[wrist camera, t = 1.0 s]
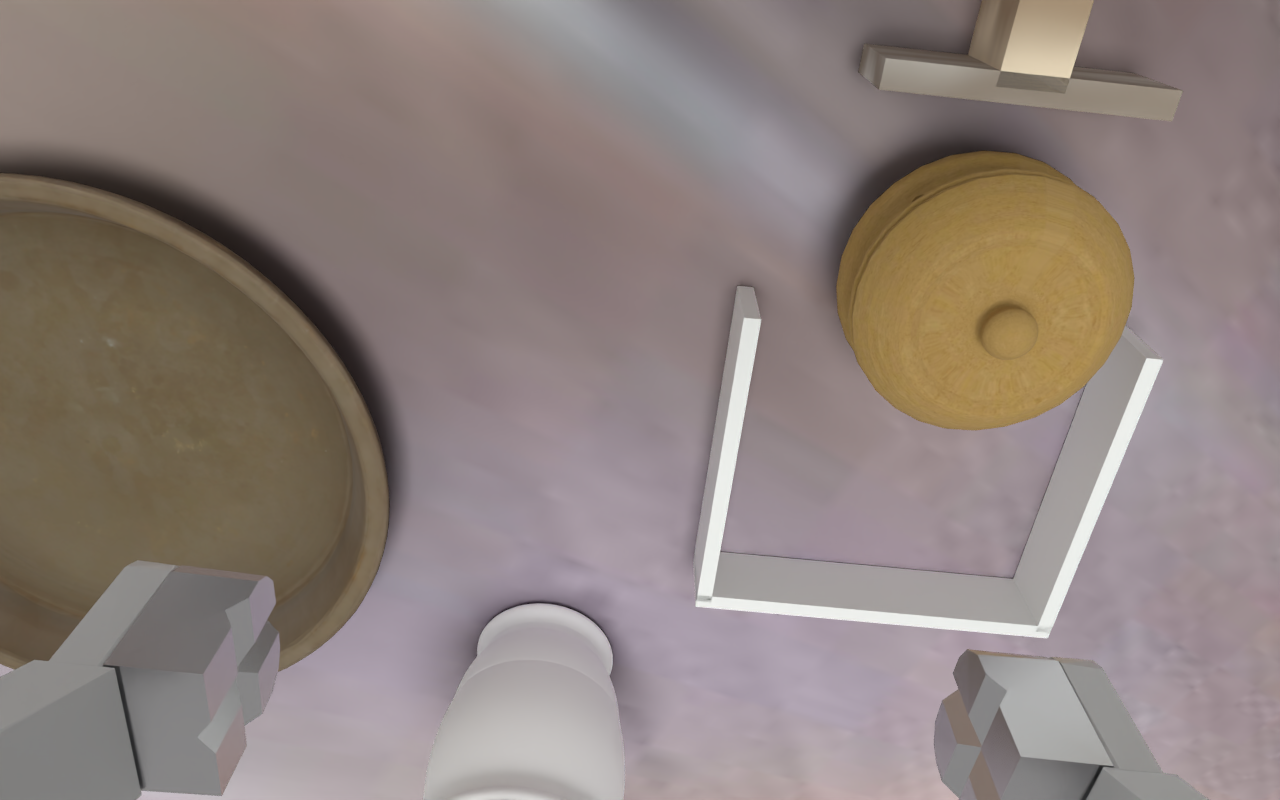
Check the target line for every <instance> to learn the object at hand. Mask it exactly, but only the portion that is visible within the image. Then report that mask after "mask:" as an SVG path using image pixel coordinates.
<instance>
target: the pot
mask: <svg viewBox="0 0 1280 800" xmlns="http://www.w3.org/2000/svg"><path fill="white" fill-rule="evenodd" d="M1133 287H1134V272H1133V266H1132V260H1131V253H1130V249H1129V247H1128V245H1127V242H1126V240H1125V238H1124V236H1123V234H1122V231H1121V229H1120V227H1119V225H1118V223H1117V222H1116V221H1115V220H1114V219H1113V218H1112V216H1111V215H1110V214H1109V213H1108V212H1107V211H1106V209H1105V208H1104V207H1103V206H1102V205H1101V204H1100V202H1098V201H1097V200H1096V199H1095V198H1094V197H1093V196H1092V195H1090V194H1089V193H1087V192H1086V191H1084V190H1082V189H1081V188H1079V187H1078V186H1076V185H1075V184H1074V183H1073V182H1072V181H1071V180H1070V179H1069V178H1068V177H1066V176H1065V175H1063V174H1061V173H1060V172H1058V171H1057V170H1055V169H1054V168H1052V167H1051V166H1049V165H1047V164H1046V163H1044V162H1042V161H1038V160H1035V159H1032V158H1029V157H1026V156H1023V155H1020V154H1017V153H1008V152H995V151H977V152H970V153H963V154H956V155H950V156H947V157H945V158H942V159H939V160H937V161H934V162H931V163H929V164H926V165H923V166H921V167H919V168H918V169H916V170H914V171H913V172H911V173H910V174H908V175H906V176H905V177H903V178H902V179H900V180H898V181H897V182H895V183H894V184H893V185H891V186H890V187H889V188H888V189H887V190H886V191H885V192H884V193H883V194H882V195H881V196H880V197H879V198H877V199H876V200H875V201H874V202H873V203H872V204H871V205H870V206H869V208H868V209H867V211H866V212H865V213H864V215H863V216H862V218H861V219H860V220H859V222H858V223H857V225H856V226H855V227H854V229H853V231H852V233H851V235H850V238H849V240H848V243H847V245H846V247H845V250H844V252H843V254H842V257H841V262H840V268H839V274H838V279H837V285H836V290H837V309H838V315H839V318H840V321H841V325H842V328H843V331H844V334H845V337H846V340H847V341H848V343H849V344H850V346H851V347H852V349H853V350H854V353H855V356H856V359H857V362H858V364H859V365H860V367H861V368H862V370H863V371H864V373H865V374H866V376H867V378H868V379H869V381H870V382H871V384H872V385H873V387H874V388H875V390H876V391H877V392H878V393H879V394H880V395H881V396H883V397H884V398H885V399H886V400H887V401H888V402H889V403H890V404H891V405H892V406H894V407H895V408H896V409H898V410H900V411H902V412H903V413H905V414H907V415H909V416H911V417H913V418H914V419H916V420H918V421H921V422H925V423H928V424H931V425H935V426H938V427H942V428H947V429H962V430H982V429H990V428H998V427H1005V426H1008V425H1012V424H1015V423H1018V422H1021V421H1025V420H1028V419H1031V418H1034V417H1037V416H1038V415H1040V414H1042V413H1044V412H1046V411H1048V410H1050V409H1052V408H1054V407H1056V406H1058V405H1060V404H1061V403H1063V402H1064V401H1065V400H1067V399H1068V398H1069V397H1071V396H1072V395H1073V394H1075V393H1076V392H1077V391H1078V390H1080V389H1081V388H1082V387H1084V386H1085V385H1086V383H1087V382H1088V381H1089V380H1090V379H1091V378H1092V377H1093V376H1094V375H1095V374H1096V372H1097V371H1098V370H1099V369H1100V368H1101V367H1102V366H1103V365H1104V364H1105V362H1106V361H1107V359H1108V357H1109V356H1110V354H1111V352H1112V351H1113V349H1114V348H1115V346H1116V344H1117V343H1118V341H1119V339H1120V338H1121V336H1122V333H1123V330H1124V327H1125V324H1126V321H1127V319H1128V316H1129V313H1130V310H1131V307H1132V297H1133Z"/></svg>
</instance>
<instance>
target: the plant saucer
mask: <svg viewBox="0 0 1280 800" xmlns="http://www.w3.org/2000/svg"><path fill="white" fill-rule="evenodd" d="M389 509H390V504H389V486H388V477H387V471H386V465H385V459H384V455H383V451H382V447H381V443H380V439H379V436H378V433H377V430H376V427H375V424H374V422H373V419H372V416H371V414H370V412H369V409H368V407H367V405H366V403H365V400H364V398H363V396H362V394H361V393H360V391H359V389H358V387H357V385H356V383H355V381H354V380H353V378H352V376H351V374H350V373H349V371H348V370H347V368H346V366H345V365H344V363H343V362H342V360H341V359H340V357H339V356H338V354H337V353H336V352H335V350H334V349H333V347H332V346H331V345H330V344H329V342H328V341H327V340H326V338H325V337H324V336H323V335H322V333H321V332H320V331H319V330H318V328H317V327H316V326H315V325H314V324H313V323H312V321H311V320H310V319H309V318H308V317H307V316H306V315H305V314H304V313H303V312H302V311H301V309H300V308H299V307H298V306H297V305H296V304H295V303H294V302H293V301H292V300H291V299H290V298H289V297H288V296H287V295H286V294H285V293H283V292H282V291H281V290H280V289H279V288H278V287H277V286H276V285H275V284H273V283H272V282H271V281H270V280H269V279H268V278H266V277H265V276H264V275H263V274H262V273H260V272H259V271H258V270H257V269H255V268H254V267H253V266H252V265H250V264H249V263H248V262H247V261H245V260H244V259H243V258H241V257H240V256H238V255H237V254H235V253H234V252H233V251H231V250H230V249H228V248H227V247H225V246H224V245H222V244H221V243H219V242H217V241H216V240H214V239H213V238H211V237H210V236H208V235H206V234H204V233H203V232H201V231H199V230H197V229H196V228H194V227H192V226H190V225H189V224H187V223H185V222H183V221H181V220H179V219H177V218H174V217H172V216H170V215H168V214H166V213H164V212H162V211H159V210H157V209H155V208H153V207H150V206H148V205H146V204H143V203H141V202H138V201H135V200H132V199H130V198H127V197H124V196H121V195H118V194H115V193H112V192H109V191H105V190H102V189H99V188H95V187H91V186H88V185H84V184H80V183H75V182H71V181H66V180H60V179H55V178H49V177H43V176H35V175H25V174H14V173H0V664H2V665H4V666H7V667H9V668H12V669H17V668H19V667H21V666H23V665H25V664H27V663H29V662H31V661H33V660H41V661H49V660H50V659H51V657H52V656H53V655H54V654H55V652H56V651H57V650H58V649H59V647H60V646H61V645H62V644H63V642H64V641H65V640H66V639H67V638H68V636H69V635H70V634H71V633H72V631H73V630H74V629H75V628H76V626H77V625H78V624H79V623H80V622H81V620H82V619H83V618H84V617H85V615H86V614H87V613H88V612H89V610H90V609H91V608H92V607H93V605H94V604H95V603H96V602H97V601H98V599H99V598H100V597H101V596H102V594H103V593H104V592H105V591H106V589H107V588H108V587H109V586H110V584H111V583H112V582H113V581H114V580H115V578H116V577H117V576H118V575H119V573H120V572H121V571H122V570H123V568H125V567H126V566H127V565H129V564H131V563H133V562H135V561H137V560H140V561H147V562H155V563H162V564H170V565H177V566H181V565H185V566H193V567H201V568H208V569H216V570H224V571H232V572H239V573H247V574H255V575H263V576H267V577H269V578H270V579H271V580H273V584H274V591H275V599H276V604H275V606H274V608H273V610H272V612H271V614H270V615H269V617H268V619H267V620H268V621H269V622H270V623H271V624H272V625H273V626H274V628H275V629H276V630H277V631H278V632H279V640H280V657H279V669H278V672H279V671H281V670H283V669H286V668H288V667H290V666H291V665H293V664H295V663H297V662H298V661H300V660H302V659H303V658H305V657H306V656H308V655H310V654H311V653H313V652H314V651H315V650H317V649H318V648H319V647H321V646H322V645H323V644H324V643H325V642H327V641H328V640H329V639H330V638H332V637H333V636H334V635H335V634H336V633H337V632H338V631H339V630H340V629H341V628H342V627H343V626H344V624H345V623H346V622H347V621H348V620H349V619H350V618H351V616H352V615H353V614H354V613H355V611H356V610H357V609H358V607H359V606H360V604H361V603H362V601H363V599H364V597H365V596H366V594H367V592H368V590H369V588H370V586H371V585H372V583H373V580H374V578H375V576H376V574H377V571H378V569H379V566H380V562H381V559H382V556H383V552H384V548H385V544H386V539H387V533H388V525H389Z"/></svg>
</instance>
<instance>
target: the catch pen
mask: <svg viewBox="0 0 1280 800" xmlns="http://www.w3.org/2000/svg"><path fill="white" fill-rule="evenodd" d="M760 324H761V316H760V312H759V308H758V304H757V300H756V296H755V292H754V288H753V287H746V286H737V291H736V297H735V304H734V310H733V316H732V322H731V328H730V335H729V341H728V347H727V353H726V359H725V366H724V372H723V378H722V384H721V391H720V397H719V403H718V409H717V415H716V422H715V428H714V434H713V440H712V446H711V453H710V459H709V465H708V471H707V477H706V484H705V490H704V496H703V502H702V508H701V515H700V521H699V527H698V533H697V539H696V546H695V552H694V558H693V568H694V587H695V607H705V608H717V609H728V610H739V611H750V612H761V613H772V614H783V615H794V616H805V617H816V618H828V619H839V620H850V621H861V622H872V623H883V624H894V625H905V626H916V627H927V628H939V629H950V630H961V631H972V632H983V633H994V634H1005V635H1016V636H1027V637H1038V638H1048V637H1049V634H1050V632H1051V629H1052V627H1053V625H1054V622H1055V620H1056V617H1057V615H1058V613H1059V610H1060V608H1061V605H1062V603H1063V600H1064V598H1065V596H1066V593H1067V591H1068V588H1069V586H1070V584H1071V581H1072V579H1073V576H1074V574H1075V572H1076V569H1077V567H1078V564H1079V562H1080V560H1081V557H1082V555H1083V552H1084V550H1085V548H1086V545H1087V543H1088V540H1089V538H1090V535H1091V533H1092V531H1093V528H1094V526H1095V523H1096V521H1097V519H1098V516H1099V514H1100V511H1101V509H1102V507H1103V504H1104V502H1105V499H1106V497H1107V495H1108V492H1109V490H1110V487H1111V485H1112V483H1113V480H1114V478H1115V475H1116V473H1117V470H1118V468H1119V466H1120V463H1121V461H1122V458H1123V456H1124V454H1125V451H1126V449H1127V446H1128V444H1129V442H1130V439H1131V437H1132V434H1133V432H1134V430H1135V427H1136V425H1137V422H1138V420H1139V418H1140V415H1141V413H1142V410H1143V408H1144V405H1145V403H1146V401H1147V398H1148V396H1149V393H1150V391H1151V389H1152V386H1153V384H1154V381H1155V379H1156V377H1157V374H1158V372H1159V369H1160V367H1161V365H1162V362H1163V359H1162V358H1161V357H1160V356H1159V355H1158V354H1156V353H1155V352H1154V351H1153V350H1152V349H1151V348H1150V347H1149V346H1148V345H1147V344H1145V343H1144V342H1143V341H1142V340H1141V339H1140V338H1139V337H1138V336H1137V335H1136V334H1134V333H1133V332H1132V331H1131V330H1130V329H1129V328H1128V327H1127V326H1126V325H1125V327H1124V330H1123V333H1122V336H1121V338H1120V339H1119V341H1118V343H1117V344H1116V346H1115V348H1114V349H1113V351H1112V352H1111V354H1110V356H1109V357H1108V359H1107V361H1106V362H1105V364H1104V365H1103V366H1102V367H1101V368H1100V369H1099V370H1098V371H1097V372H1096V374H1095V375H1094V376H1093V377H1092V378H1091V379H1090V380H1089V381H1088V382H1087V384H1086V387H1085V389H1084V392H1083V395H1082V397H1081V400H1080V403H1079V405H1078V408H1077V411H1076V413H1075V416H1074V419H1073V421H1072V424H1071V427H1070V429H1069V432H1068V434H1067V437H1066V440H1065V442H1064V445H1063V448H1062V450H1061V453H1060V456H1059V458H1058V461H1057V464H1056V466H1055V469H1054V472H1053V474H1052V477H1051V480H1050V482H1049V485H1048V488H1047V490H1046V493H1045V496H1044V498H1043V501H1042V504H1041V506H1040V509H1039V512H1038V514H1037V517H1036V520H1035V522H1034V525H1033V528H1032V530H1031V533H1030V536H1029V538H1028V541H1027V544H1026V546H1025V549H1024V552H1023V554H1022V557H1021V559H1020V562H1019V565H1018V567H1017V570H1016V573H1015V575H1014V578H1013V579H1010V578H999V577H988V576H977V575H966V574H956V573H945V572H934V571H923V570H912V569H901V568H890V567H880V566H869V565H858V564H847V563H836V562H825V561H814V560H804V559H793V558H782V557H771V556H760V555H749V554H738V553H728V552H720V549H721V543H722V538H723V532H724V527H725V521H726V515H727V510H728V504H729V498H730V493H731V487H732V482H733V476H734V470H735V465H736V459H737V453H738V448H739V442H740V437H741V431H742V425H743V420H744V414H745V408H746V403H747V397H748V392H749V386H750V380H751V375H752V369H753V363H754V358H755V352H756V347H757V341H758V335H759V330H760Z"/></svg>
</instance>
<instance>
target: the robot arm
mask: <svg viewBox="0 0 1280 800" xmlns="http://www.w3.org/2000/svg"><path fill="white" fill-rule="evenodd" d="M275 604H276V599H275V591H274V584H273V580H271V579H270V578H269V577H267V576H263V575H255V574H247V573H239V572H232V571H224V570H216V569H208V568H201V567H193V566H185V565H181V566H177V565H170V564H162V563H155V562H147V561H140V560H137V561H135V562H133V563H131V564H129V565H127V566H126V567H125V568H123V570H122V571H121V572H120V573H119V575H118V576H117V577H116V578H115V580H114V581H113V582H112V583H111V584H110V586H109V587H108V588H107V589H106V591H105V592H104V593H103V594H102V596H101V597H100V598H99V599H98V601H97V602H96V603H95V604H94V605H93V607H92V608H91V609H90V610H89V612H88V613H87V614H86V615H85V617H84V618H83V619H82V620H81V622H80V623H79V624H78V625H77V626H76V628H75V629H74V630H73V631H72V633H71V634H70V635H69V636H68V638H67V639H66V640H65V641H64V642H63V644H62V645H61V646H60V647H59V649H58V650H57V651H56V652H55V654H54V655H53V656H52V657H51V659H50V660H49V661H41V660H33V661H31V662H29V663H27V664H25V665H23V666H21V667H19V668H17V669H15V670H13V671H11V672H9V673H7V674H5V675H3V676H1V677H0V800H136V799H137V798H139V797H140V796H141V794H142V793H141V791H156V792H171V793H185V794H200V795H215V796H222V794H223V792H224V790H225V788H226V786H227V784H228V782H229V780H230V778H231V776H232V774H233V772H234V770H235V768H236V766H237V764H238V762H239V760H240V758H241V756H242V754H243V752H244V750H245V748H246V746H247V745H246V736H245V727H244V726H245V725H246V724H248V723H249V722H251V721H252V720H254V719H255V718H257V717H258V716H260V715H261V714H262V713H263V711H264V709H265V707H266V705H267V703H268V701H269V698H270V696H271V694H272V691H273V687H274V684H275V680H276V676H277V672H278V669H279V657H280V640H279V632H278V631H277V630H276V629H275V628H274V626H273V625H272V624H271V623H270V622H269V621H268V620H267V619H268V617H269V615H270V614H271V612H272V610H273V608H274V606H275ZM953 675H954V678H955V681H956V683H957V686H958V690H957V691H955V692H954V693H952V694H951V695H950V696H948V697H947V698H945V699H944V700H942V703H941V706H940V709H939V712H938V715H937V718H936V721H935V734H934V749H935V756H936V763H937V766H938V770H939V773H940V776H941V780H942V782H943V783H944V784H945V785H946V786H947V787H948V788H949V789H950V790H951V791H952V792H953V793H954V794H955V795H956V796H957V797H958V798H959V800H1209V799H1207V798H1206V797H1205V796H1204V795H1202V794H1201V793H1200V792H1198V791H1197V790H1196V789H1195V788H1193V787H1192V786H1191V785H1189V784H1188V783H1187V782H1185V781H1184V780H1183V779H1182V778H1180V777H1179V776H1178V775H1175V774H1166V773H1163V772H1162V770H1161V768H1160V766H1159V765H1158V763H1157V761H1156V760H1155V758H1154V756H1153V754H1152V753H1151V751H1150V749H1149V747H1148V746H1147V744H1146V742H1145V741H1144V739H1143V737H1142V735H1141V734H1140V732H1139V730H1138V729H1137V727H1136V725H1135V723H1134V722H1133V720H1132V718H1131V717H1130V715H1129V713H1128V711H1127V710H1126V708H1125V706H1124V704H1123V703H1122V701H1121V699H1120V698H1119V696H1118V694H1117V692H1116V691H1115V689H1114V687H1113V686H1112V684H1111V682H1110V680H1109V679H1108V677H1107V675H1106V674H1105V672H1104V670H1103V669H1102V667H1100V666H1099V665H1098V664H1097V663H1095V662H1094V661H1092V660H1081V659H1070V658H1058V657H1050V658H1047V657H1041V656H1030V655H1020V654H1010V653H999V652H989V651H979V650H968V649H967V650H966V651H965V652H964V653H963V654H962V655H961V656H960V657H959V659H958V662H957V664H956V667H955V669H954V672H953Z"/></svg>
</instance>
